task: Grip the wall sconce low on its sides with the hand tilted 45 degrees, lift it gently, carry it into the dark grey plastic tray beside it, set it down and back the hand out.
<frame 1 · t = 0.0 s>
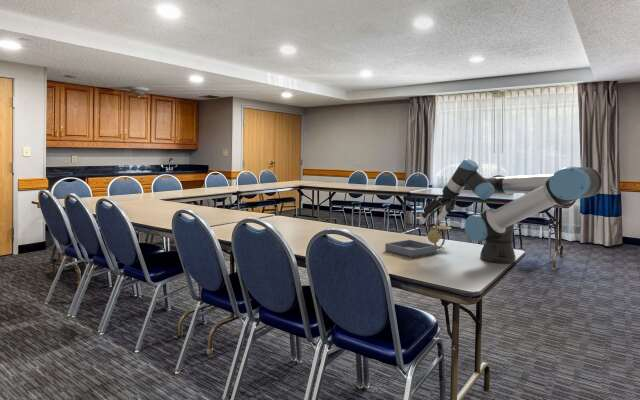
hand: (430, 221, 212), 15 cm above the table, tool tilted 35°, fingers open, 13 cm apart
wall sconce: (438, 248, 221), on the table
tray: (410, 252, 210), on the table
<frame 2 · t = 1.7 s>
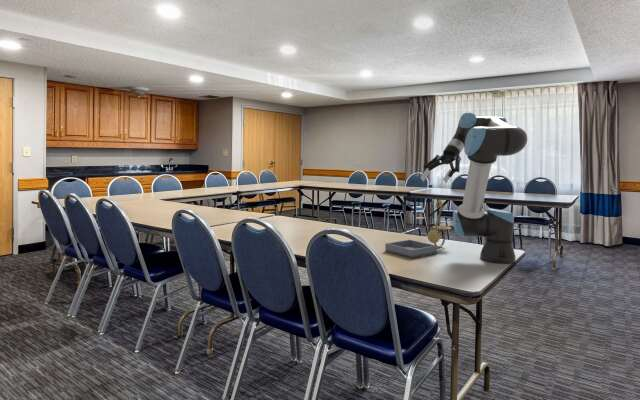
hand: (433, 180, 209), 36 cm above the table, tool tilted 45°, fingers open, 13 cm apart
nothing on the table moved.
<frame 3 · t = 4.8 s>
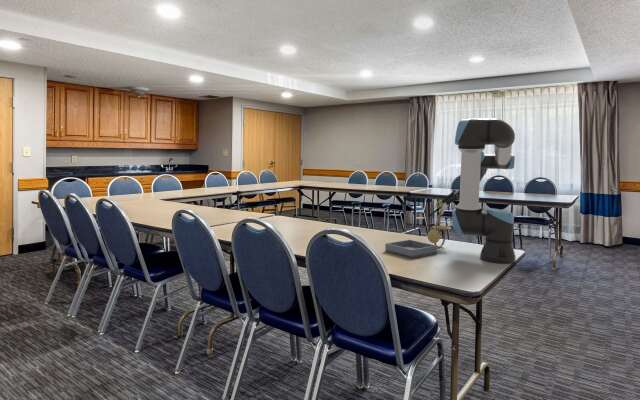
hand: (450, 215, 225), 17 cm above the table, tool tilted 45°, fingers open, 13 cm apart
nothing on the table moved.
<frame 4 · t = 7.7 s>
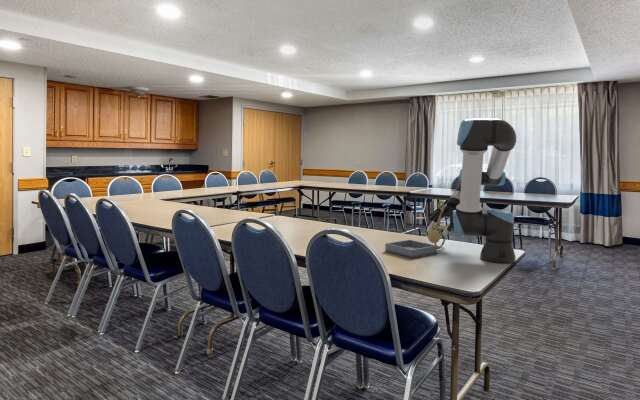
hand: (435, 233, 218), 8 cm above the table, tool tilted 45°, fingers closed on wall sconce, 9 cm apart
wall sconce: (438, 248, 221), on the table, touching gripper
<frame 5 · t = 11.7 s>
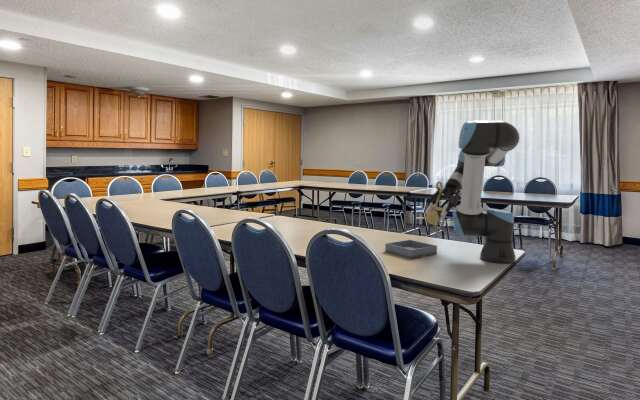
hand: (434, 214, 217), 18 cm above the table, tool tilted 45°, fingers closed on wall sconce, 9 cm apart
wall sconce: (437, 229, 220), point 10 cm above the table, touching gripper
when the fingers open (9 cm above the table, at t = 15.9 s): wall sconce stays where it is, resting on tray.
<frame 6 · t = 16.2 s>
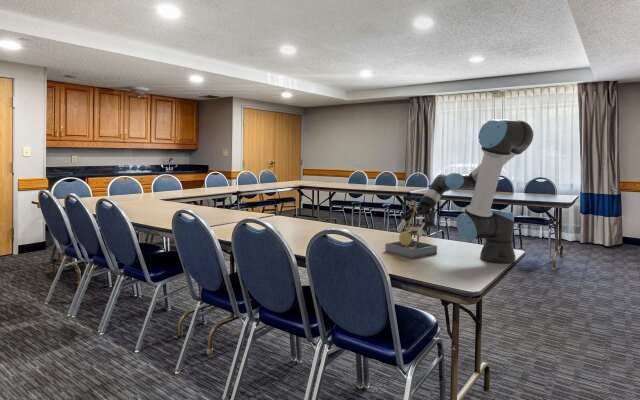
hand: (408, 232, 207), 10 cm above the table, tool tilted 45°, fingers open, 12 cm apart
wall sconce: (411, 250, 210), point 1 cm above the table, touching tray
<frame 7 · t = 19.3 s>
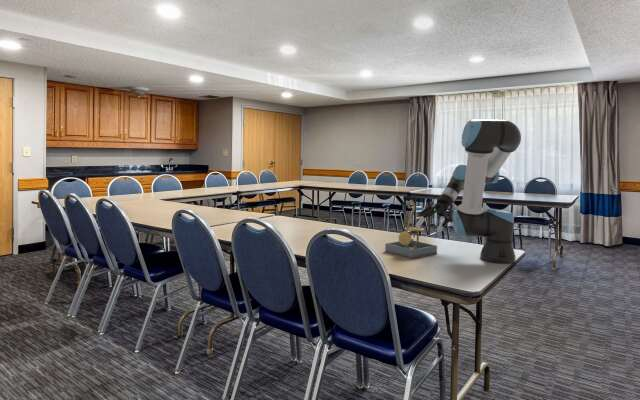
hand: (427, 229, 216), 11 cm above the table, tool tilted 45°, fingers open, 13 cm apart
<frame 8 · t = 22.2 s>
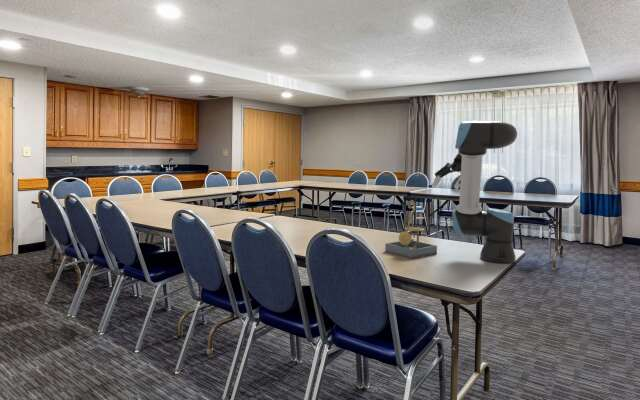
hand: (444, 187, 217), 32 cm above the table, tool tilted 45°, fingers open, 13 cm apart
nothing on the table moved.
at the end: wall sconce 0.3 cm off-centre on the tray, point 0.8 cm above the tray's base; wall sconce tilted 0°; the gripper is holding nothing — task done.
